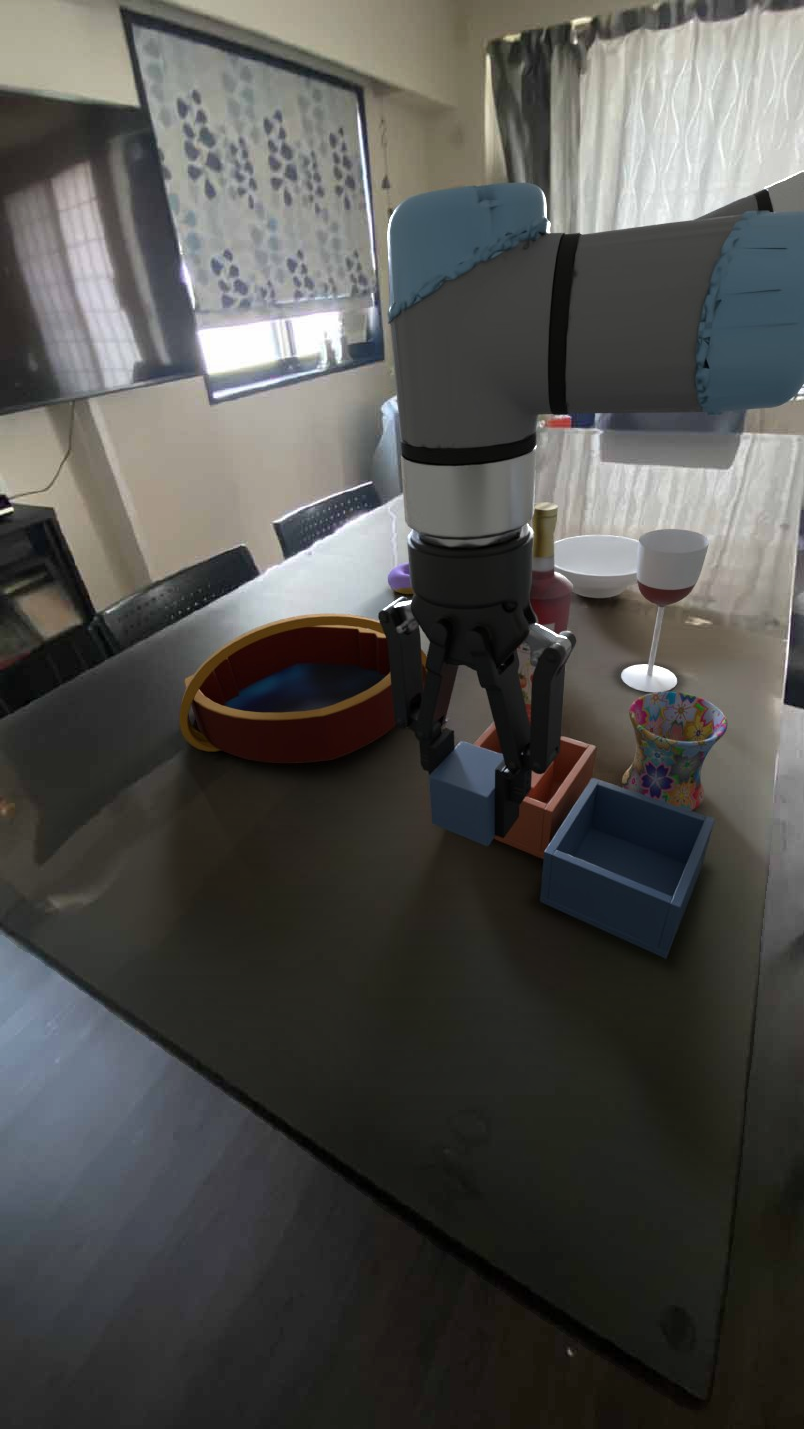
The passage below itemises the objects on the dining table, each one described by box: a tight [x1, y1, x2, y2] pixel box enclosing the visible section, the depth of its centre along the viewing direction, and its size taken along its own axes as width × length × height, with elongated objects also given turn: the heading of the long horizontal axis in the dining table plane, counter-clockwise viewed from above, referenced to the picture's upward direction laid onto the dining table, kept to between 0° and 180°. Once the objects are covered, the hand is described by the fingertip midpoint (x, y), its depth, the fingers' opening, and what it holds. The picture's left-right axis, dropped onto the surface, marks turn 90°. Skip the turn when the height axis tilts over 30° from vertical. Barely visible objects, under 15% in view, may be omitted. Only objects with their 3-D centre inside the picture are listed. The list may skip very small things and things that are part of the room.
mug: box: [621, 691, 728, 811], centre depth 69 cm, size 12×9×11 cm
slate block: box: [428, 740, 504, 847], centre depth 50 cm, size 5×5×5 cm
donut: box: [387, 562, 415, 595], centre depth 121 cm, size 10×9×5 cm
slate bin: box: [539, 777, 716, 959], centre depth 59 cm, size 12×12×7 cm
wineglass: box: [620, 528, 710, 693], centre depth 85 cm, size 8×9×20 cm
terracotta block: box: [526, 761, 554, 804], centre depth 69 cm, size 5×5×5 cm
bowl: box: [554, 534, 639, 599], centre depth 113 cm, size 20×20×7 cm
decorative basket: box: [178, 613, 427, 764], centre depth 84 cm, size 34×29×15 cm
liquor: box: [517, 501, 573, 723], centre depth 76 cm, size 7×7×28 cm
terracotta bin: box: [472, 722, 597, 860], centre depth 69 cm, size 12×12×7 cm
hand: (474, 812), depth 51 cm, fingers closed on slate block, 5 cm apart
